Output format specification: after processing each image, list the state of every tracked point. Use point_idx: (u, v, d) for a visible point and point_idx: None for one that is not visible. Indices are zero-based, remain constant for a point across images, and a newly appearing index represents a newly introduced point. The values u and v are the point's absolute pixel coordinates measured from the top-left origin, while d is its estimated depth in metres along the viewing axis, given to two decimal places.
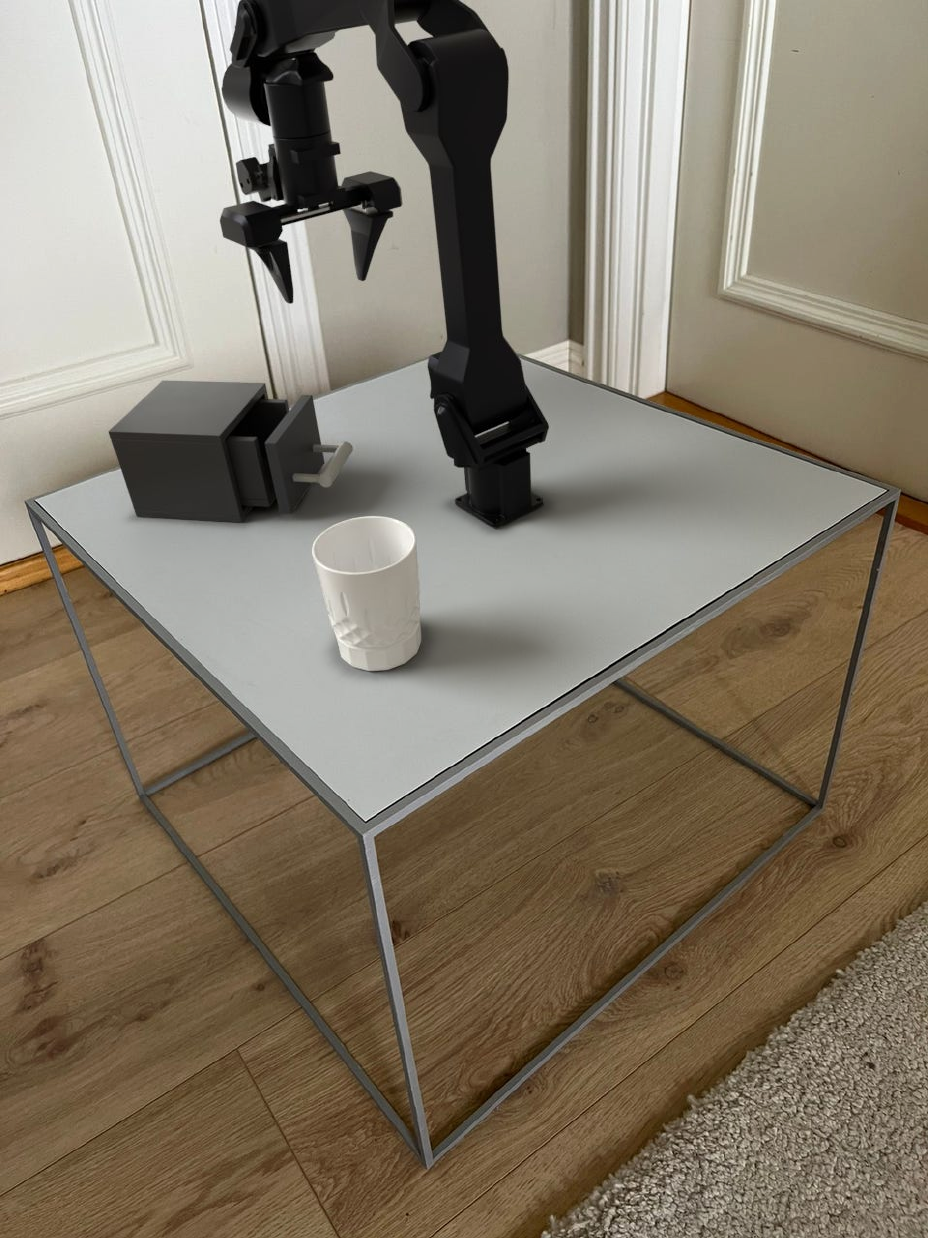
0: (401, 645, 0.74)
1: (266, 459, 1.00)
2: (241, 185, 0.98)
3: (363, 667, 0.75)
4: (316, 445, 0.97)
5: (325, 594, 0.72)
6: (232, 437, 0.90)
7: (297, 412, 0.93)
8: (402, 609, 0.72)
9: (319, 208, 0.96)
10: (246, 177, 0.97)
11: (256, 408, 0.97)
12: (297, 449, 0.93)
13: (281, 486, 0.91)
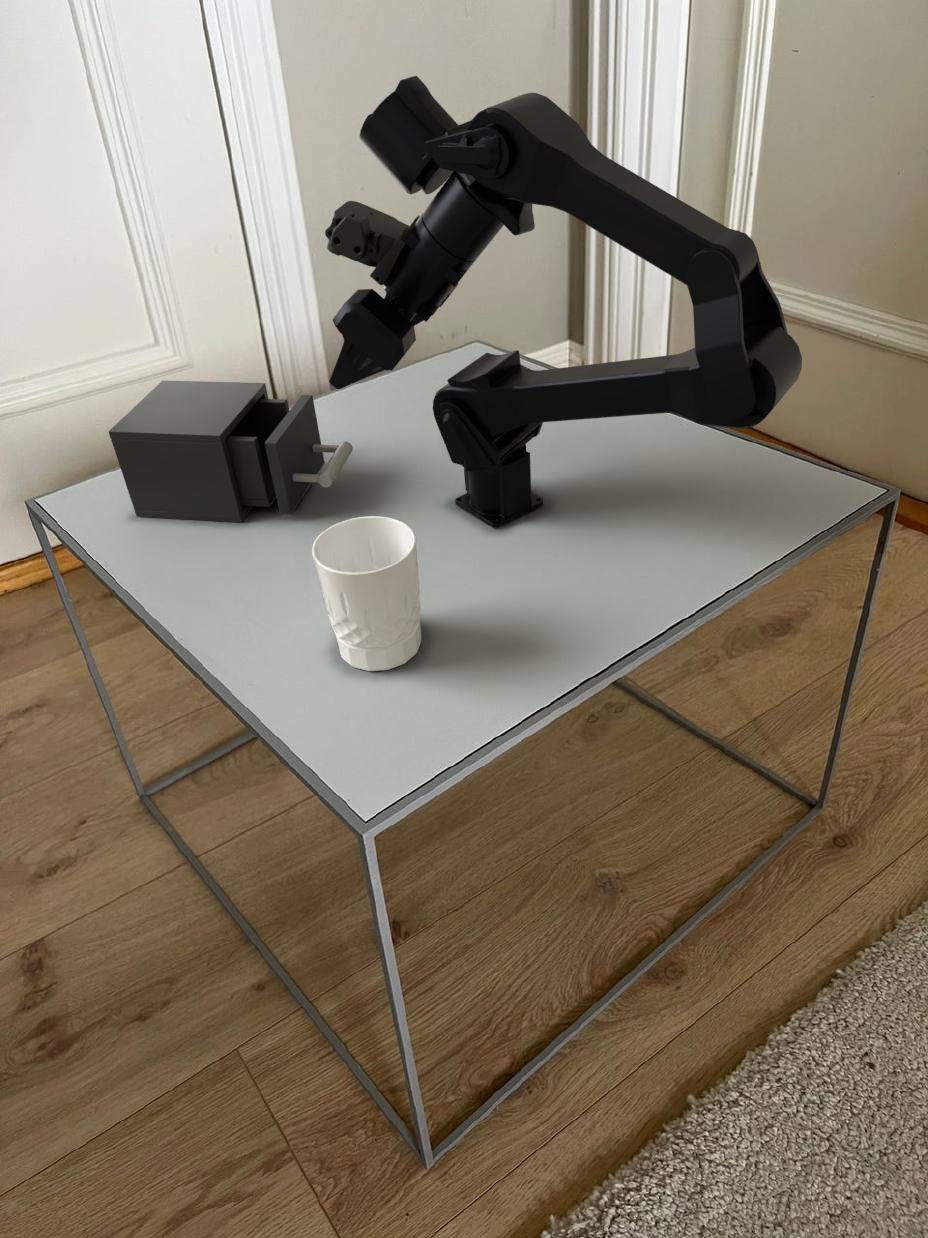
0: (401, 645, 0.74)
1: (266, 459, 1.00)
2: (334, 239, 0.77)
3: (363, 667, 0.75)
4: (316, 445, 0.97)
5: (325, 594, 0.72)
6: (232, 437, 0.90)
7: (297, 412, 0.93)
8: (402, 609, 0.72)
9: None
10: (357, 244, 0.77)
11: (256, 408, 0.97)
12: (297, 449, 0.93)
13: (281, 486, 0.91)
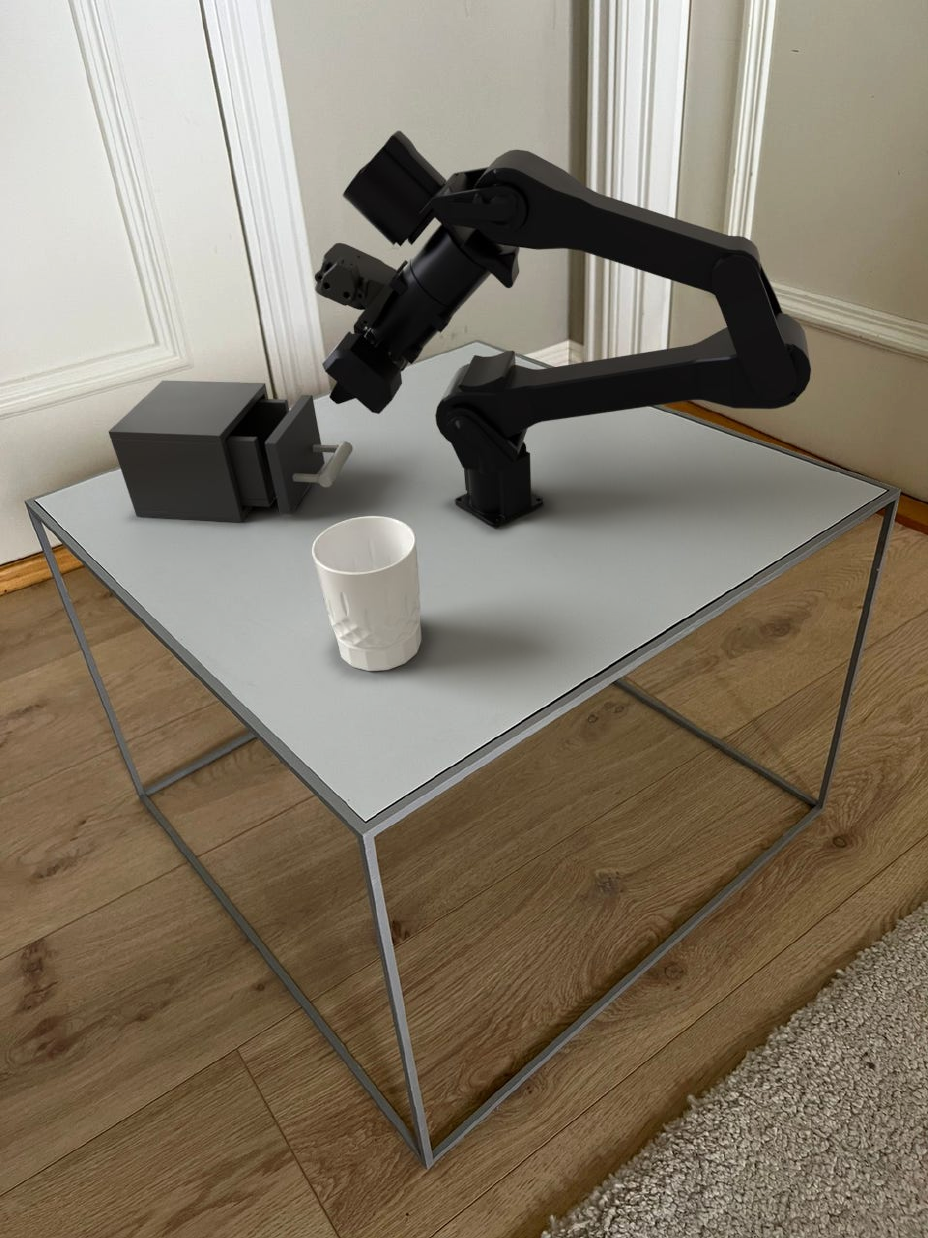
0: (401, 645, 0.74)
1: (266, 459, 1.00)
2: (324, 284, 0.79)
3: (363, 667, 0.75)
4: (316, 445, 0.97)
5: (325, 594, 0.72)
6: (232, 437, 0.90)
7: (297, 412, 0.93)
8: (402, 609, 0.72)
9: None
10: (347, 290, 0.78)
11: (256, 408, 0.97)
12: (297, 449, 0.93)
13: (281, 486, 0.91)
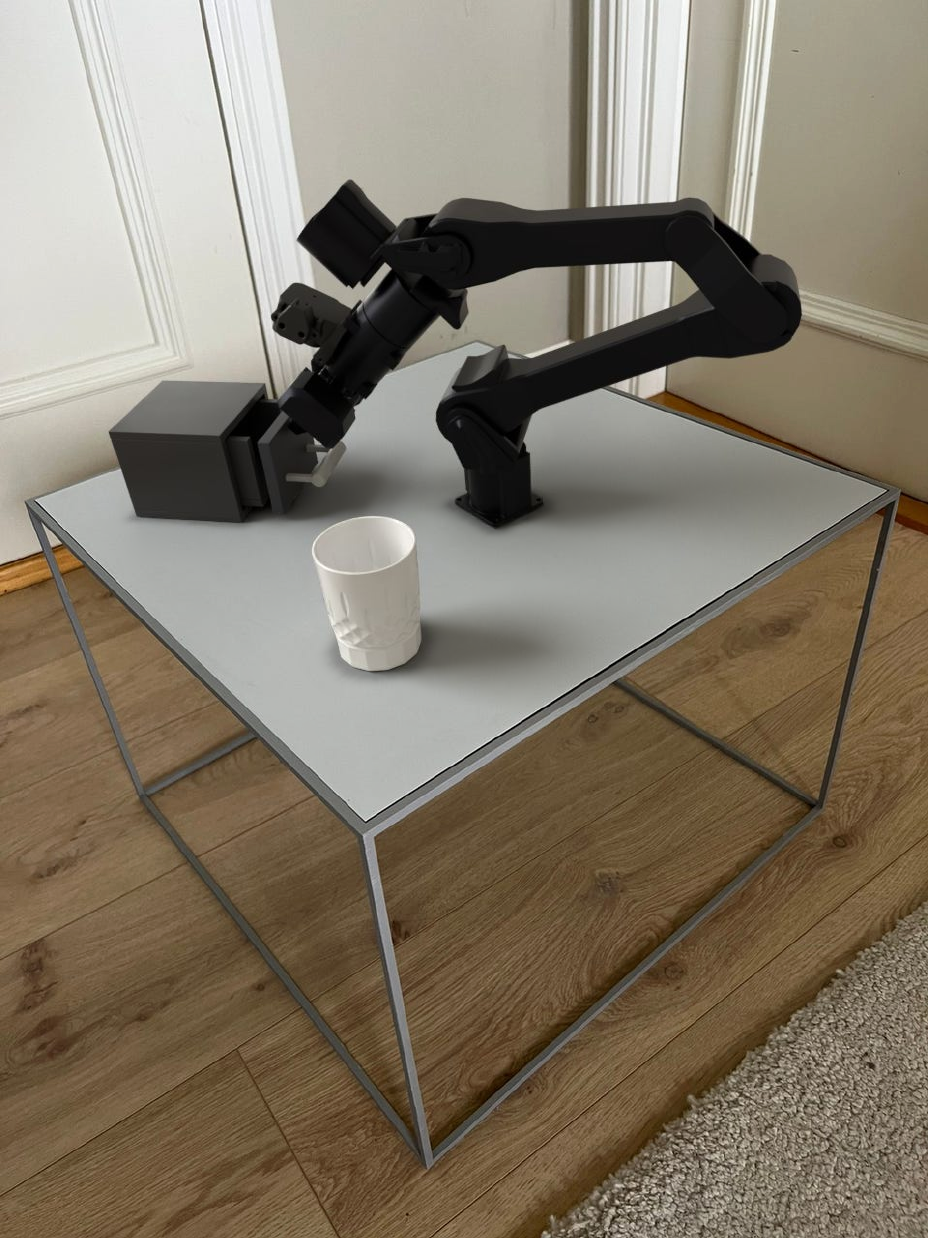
0: (401, 645, 0.74)
1: (260, 459, 1.00)
2: (279, 324, 0.82)
3: (363, 667, 0.75)
4: (310, 445, 0.97)
5: (325, 594, 0.72)
6: None
7: None
8: (402, 609, 0.72)
9: None
10: (301, 330, 0.81)
11: None
12: (290, 448, 0.93)
13: (274, 486, 0.91)
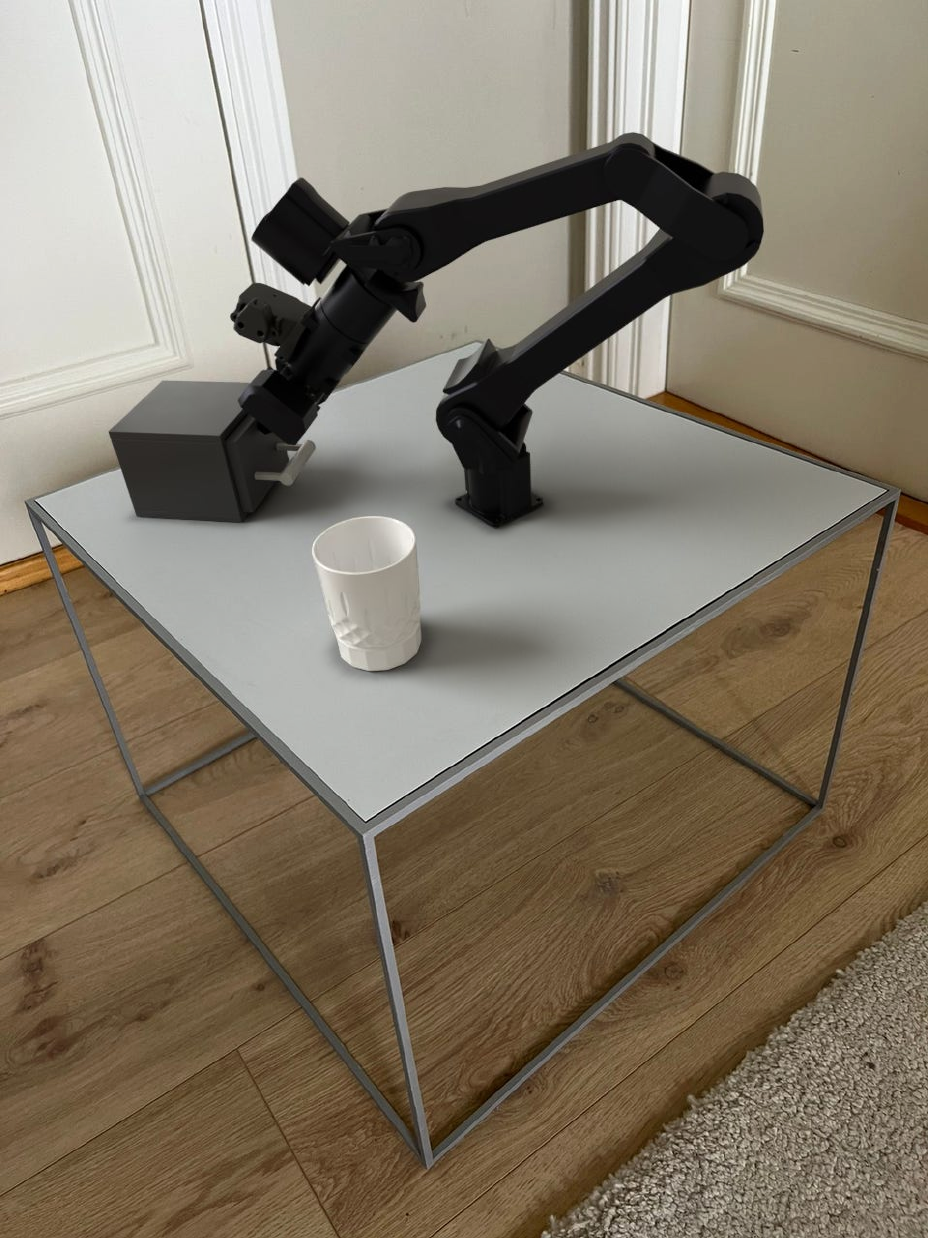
0: (401, 645, 0.74)
1: None
2: (238, 323, 0.82)
3: (363, 667, 0.75)
4: (280, 444, 0.98)
5: (325, 594, 0.72)
6: None
7: None
8: (402, 609, 0.72)
9: None
10: (260, 329, 0.82)
11: None
12: (259, 447, 0.94)
13: (242, 484, 0.92)
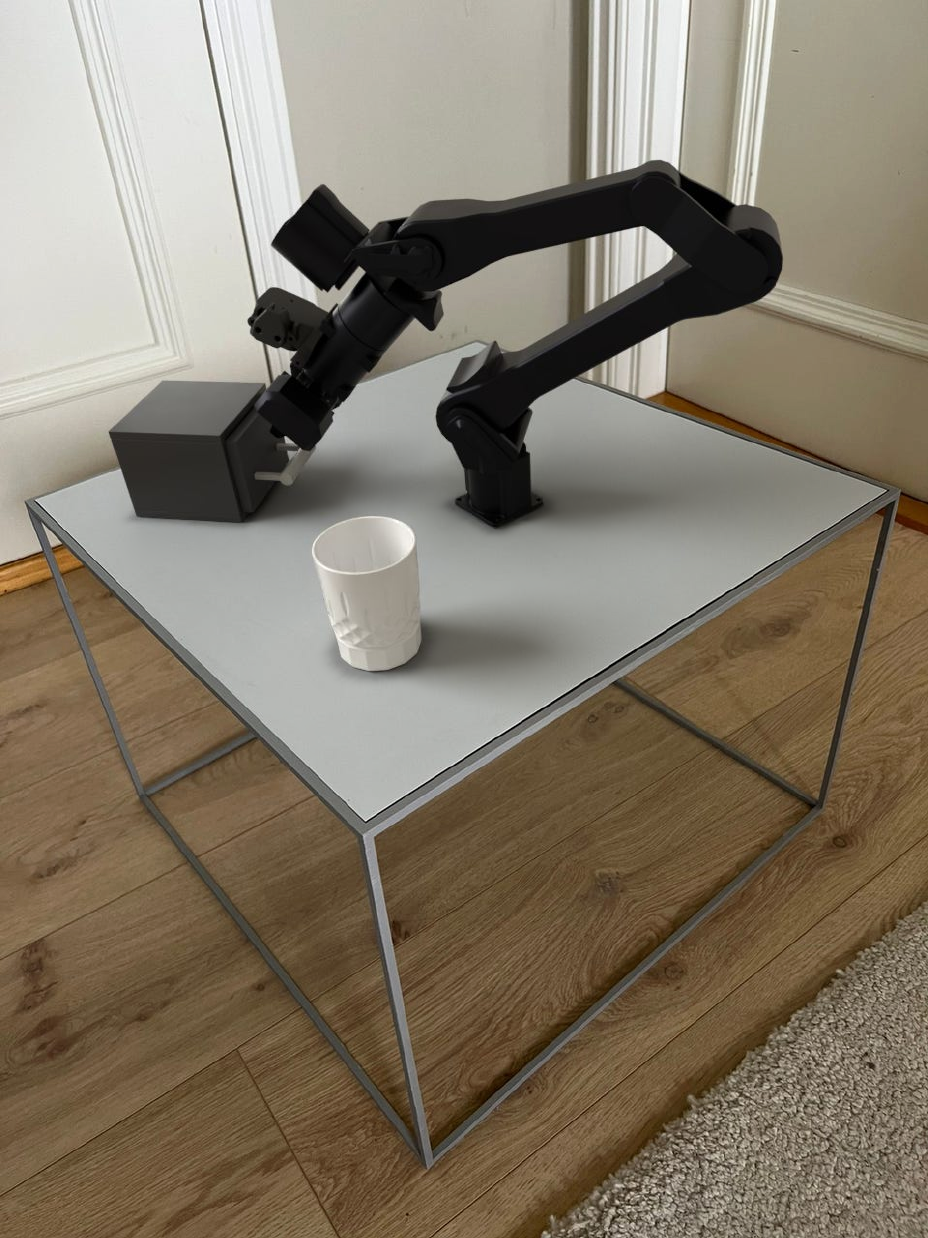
0: (401, 645, 0.74)
1: None
2: (255, 328, 0.82)
3: (363, 667, 0.75)
4: (280, 444, 0.98)
5: (325, 594, 0.72)
6: None
7: None
8: (402, 609, 0.72)
9: None
10: (277, 334, 0.82)
11: None
12: (259, 447, 0.94)
13: (242, 484, 0.92)
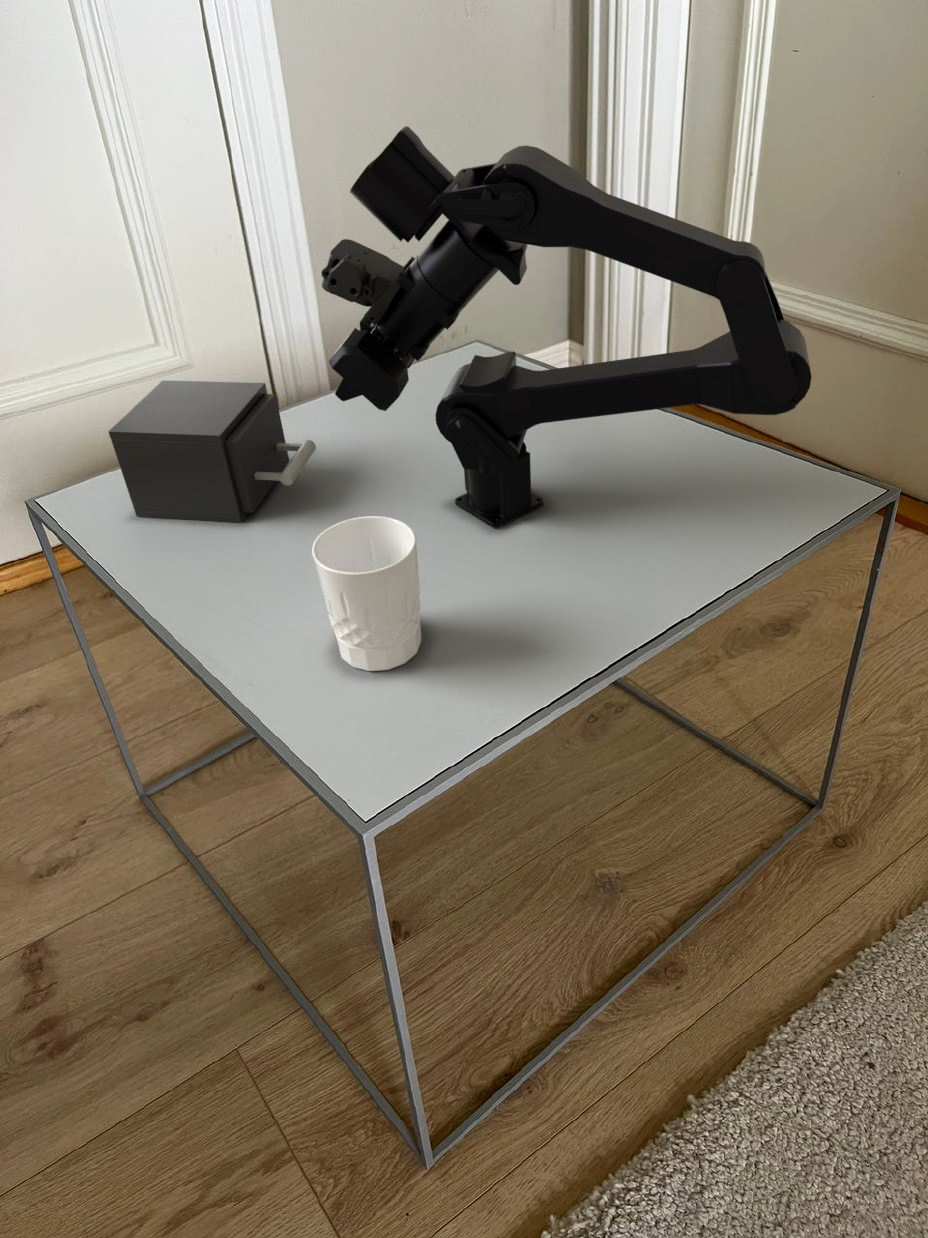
0: (401, 645, 0.74)
1: None
2: (330, 280, 0.78)
3: (363, 667, 0.75)
4: (280, 444, 0.98)
5: (325, 594, 0.72)
6: None
7: (259, 410, 0.94)
8: (402, 609, 0.72)
9: None
10: (353, 286, 0.78)
11: None
12: (259, 447, 0.94)
13: (242, 484, 0.92)
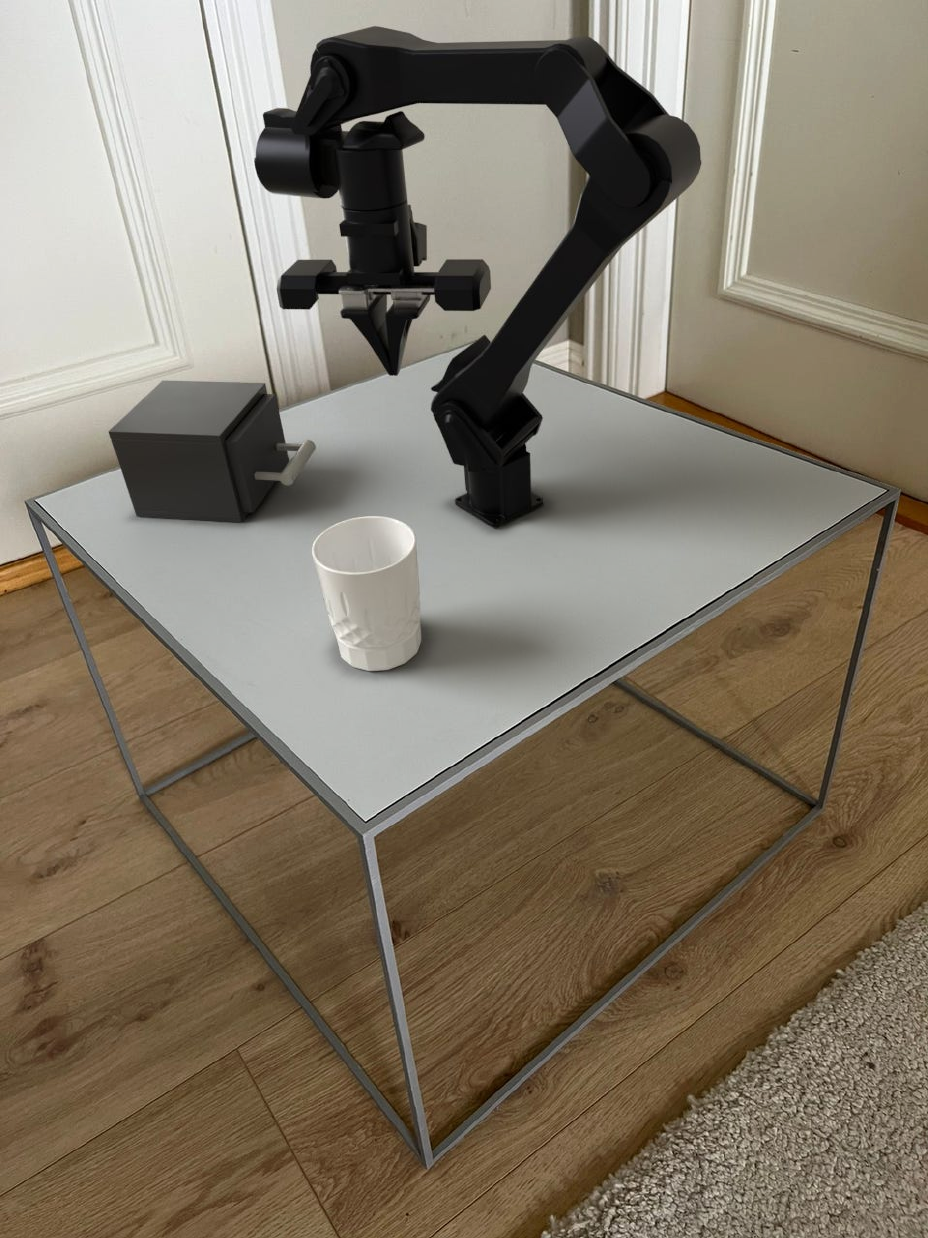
0: (401, 645, 0.74)
1: None
2: None
3: (363, 667, 0.75)
4: (280, 444, 0.98)
5: (325, 594, 0.72)
6: None
7: (259, 410, 0.94)
8: (402, 609, 0.72)
9: (425, 287, 0.83)
10: None
11: None
12: (259, 447, 0.94)
13: (242, 484, 0.92)
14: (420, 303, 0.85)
